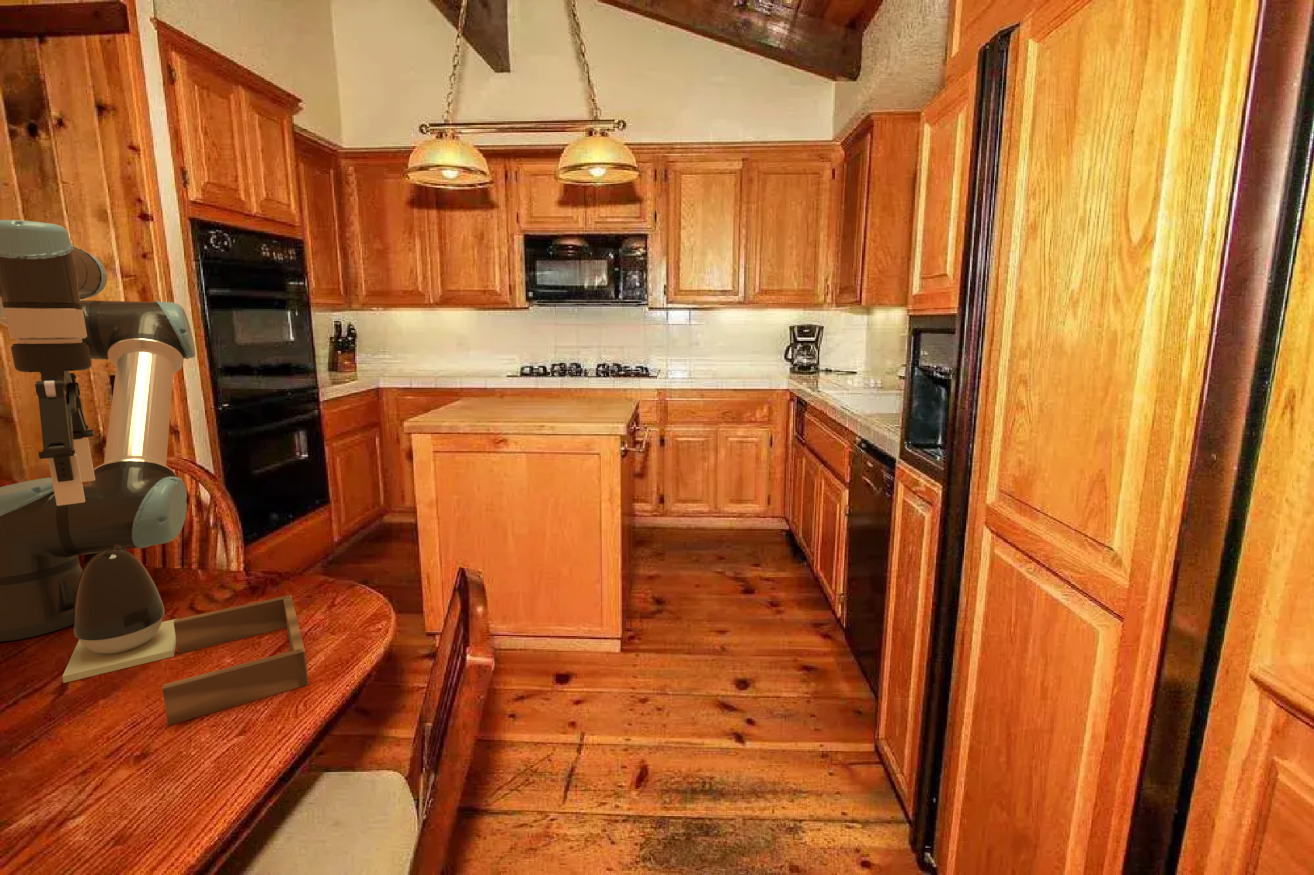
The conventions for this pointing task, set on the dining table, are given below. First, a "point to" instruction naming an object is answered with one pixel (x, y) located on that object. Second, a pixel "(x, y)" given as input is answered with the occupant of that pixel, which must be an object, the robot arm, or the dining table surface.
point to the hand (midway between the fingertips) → (77, 492)
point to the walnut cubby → (241, 679)
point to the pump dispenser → (116, 603)
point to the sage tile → (121, 655)
